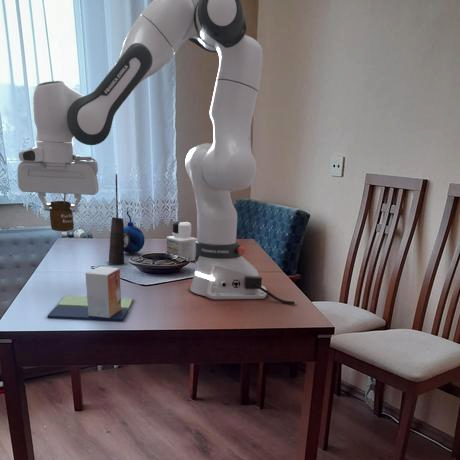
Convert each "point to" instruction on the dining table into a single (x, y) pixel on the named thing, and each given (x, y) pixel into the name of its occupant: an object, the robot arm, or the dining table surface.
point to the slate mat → (83, 314)
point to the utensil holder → (61, 215)
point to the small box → (103, 291)
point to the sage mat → (82, 302)
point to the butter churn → (116, 238)
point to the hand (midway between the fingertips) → (61, 211)
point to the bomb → (133, 238)
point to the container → (182, 241)
